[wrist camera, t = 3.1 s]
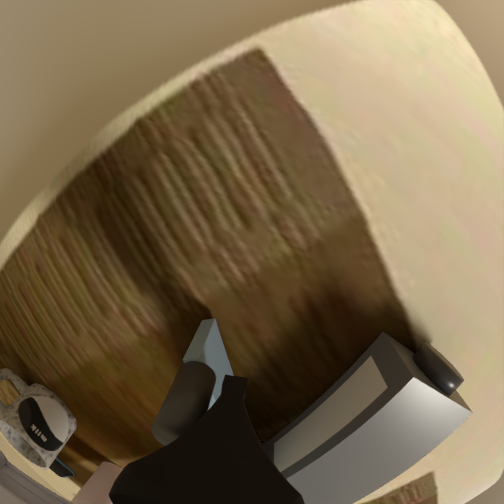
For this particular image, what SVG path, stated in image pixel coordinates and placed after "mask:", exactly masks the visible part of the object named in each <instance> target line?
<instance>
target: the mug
mask: <svg viewBox="0 0 504 504" xmlns="http://www.w3.org/2000/svg"><path fill="white" fill-rule="evenodd" d="M4 379H9V380H11V381H12V382H13V384H14V385H15V387H16V388H17V390H18V391H19V392H20V394H21V395H20V396H19V397H18V398H17V399H16V400H15V401H14V402H13V403H12V404H11V405H10V406H9V407H8V408H6V407H5V405H4V404H3V403H2V402H1V401H0V430H1V432H2V434H3V435H4V436H5V438H6V439H7V440H8V441H9V443H10V444H11V445H12V446H13V447H14V448H15V449H16V450H17V451H18V452H19V453H20V454H21V455H23V456H24V457H25V458H26V459H27V460H29V461H30V462H31V463H33V464H34V465H36V466H38V467H40V468H42V469H48V468H49V467H50V465H51V464H52V462H53V461H54V459H55V458H56V456H57V455H58V454H59V452H60V451H61V449H62V448H63V446H64V445H65V444H66V442H67V441H68V439H69V438H70V437H71V435H72V434H73V432H74V431H75V430H76V428H77V422H76V419H75V417H74V415H73V413H72V412H71V411H70V409H69V408H68V407H67V405H66V404H65V403H64V402H63V401H62V400H61V399H60V398H59V397H58V396H57V395H56V394H55V393H53V392H52V391H51V390H49V389H48V388H47V387H45V386H43V385H41V384H37V383H34V384H32V385H30V386H28V385H27V384H26V382H24V381H23V380H22V379H21V378H20V377H18V376H17V375H16V374H15V373H14V372H13V371H12V370H10V369H9V368H4V369H1V370H0V382H1V381H2V380H4Z"/></svg>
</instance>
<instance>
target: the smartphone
mask: <svg viewBox="0 0 504 504" xmlns="http://www.w3.org/2000/svg"><path fill="white" fill-rule="evenodd" d="M2 403H3V402H2ZM3 404H4V403H3ZM4 405H5V404H4ZM5 407H6V408H8V407H7V406H6V405H5ZM49 468H50V469H51V470H52V471H53V472H55V473H56V474H57V475H58V476H60V477H71V476H75V473H74V472H73V471H72V470H71V469H70V468H69V467H68V466H66V465H65V464H64V463H63V462H62V461H60V460H59V459H58V458H57V457H56V458H55V459H54V461H53V462H52V464H51V465H50V467H49Z"/></svg>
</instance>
